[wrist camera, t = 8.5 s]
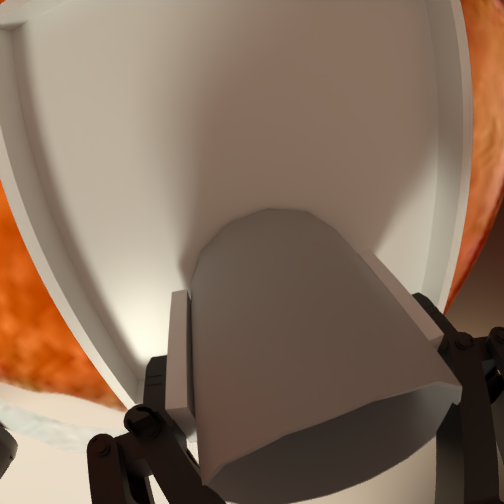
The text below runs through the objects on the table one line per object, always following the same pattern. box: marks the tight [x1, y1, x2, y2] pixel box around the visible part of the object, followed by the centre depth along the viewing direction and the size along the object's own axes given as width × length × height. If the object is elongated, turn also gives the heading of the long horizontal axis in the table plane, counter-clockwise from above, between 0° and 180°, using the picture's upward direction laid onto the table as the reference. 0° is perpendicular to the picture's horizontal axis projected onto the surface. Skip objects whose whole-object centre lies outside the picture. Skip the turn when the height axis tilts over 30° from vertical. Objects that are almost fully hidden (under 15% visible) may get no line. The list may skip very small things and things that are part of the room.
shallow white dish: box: [0, 0, 473, 410], centre depth 14 cm, size 22×24×4 cm
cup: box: [191, 208, 462, 504], centre depth 12 cm, size 8×8×10 cm
